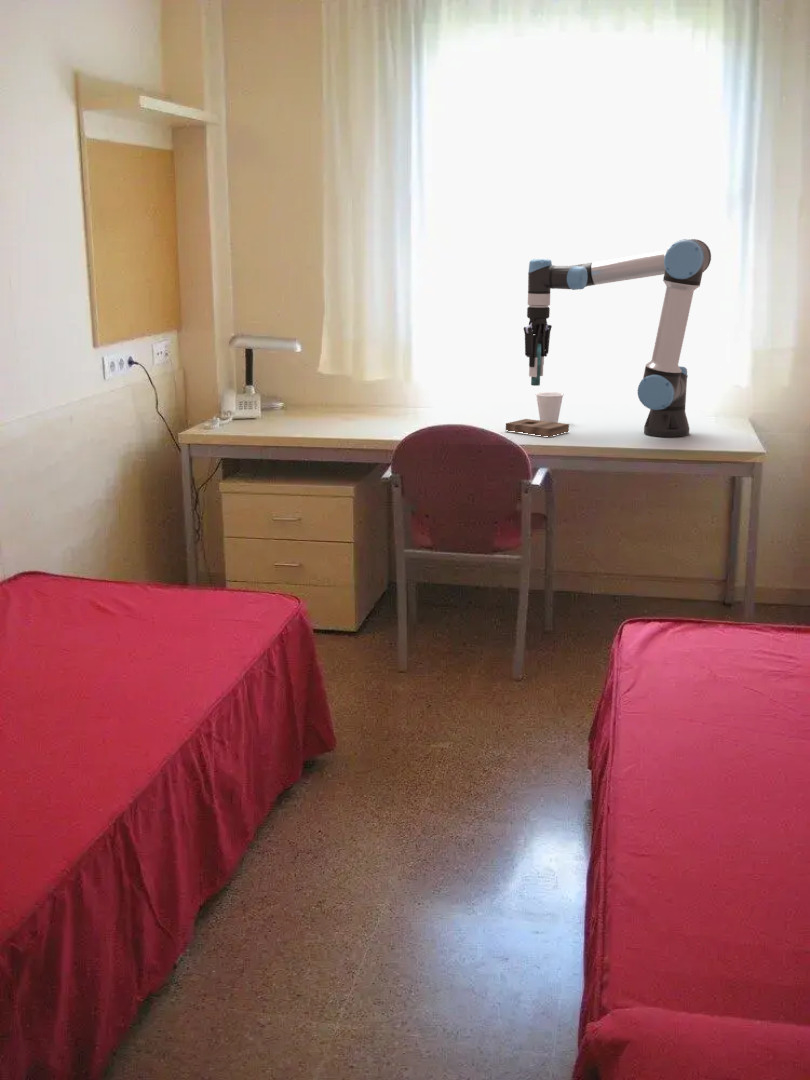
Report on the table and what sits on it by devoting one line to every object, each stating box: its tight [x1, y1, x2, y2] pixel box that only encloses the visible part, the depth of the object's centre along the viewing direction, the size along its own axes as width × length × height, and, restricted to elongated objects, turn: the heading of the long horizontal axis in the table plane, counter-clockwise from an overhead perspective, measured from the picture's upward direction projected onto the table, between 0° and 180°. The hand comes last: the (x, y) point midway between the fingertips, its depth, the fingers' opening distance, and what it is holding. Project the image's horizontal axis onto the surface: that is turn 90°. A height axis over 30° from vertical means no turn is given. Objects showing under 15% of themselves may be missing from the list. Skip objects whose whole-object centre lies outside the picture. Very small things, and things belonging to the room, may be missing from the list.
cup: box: [535, 391, 564, 423], centre depth 411 cm, size 10×10×11 cm
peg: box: [530, 343, 541, 387], centre depth 393 cm, size 3×3×14 cm
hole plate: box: [505, 418, 570, 438], centre depth 397 cm, size 18×12×3 cm, turn 49°
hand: (536, 375), depth 394 cm, fingers closed on peg, 3 cm apart
